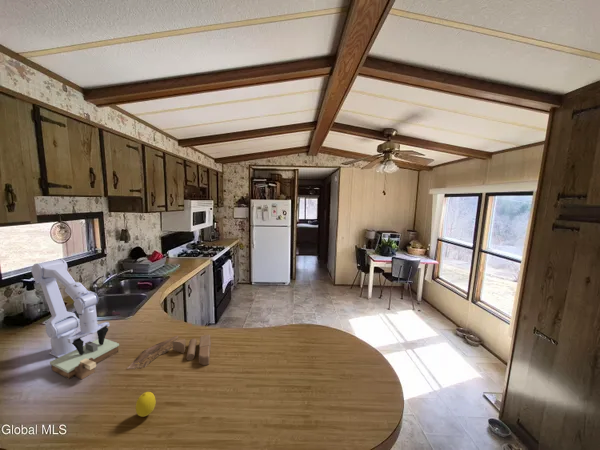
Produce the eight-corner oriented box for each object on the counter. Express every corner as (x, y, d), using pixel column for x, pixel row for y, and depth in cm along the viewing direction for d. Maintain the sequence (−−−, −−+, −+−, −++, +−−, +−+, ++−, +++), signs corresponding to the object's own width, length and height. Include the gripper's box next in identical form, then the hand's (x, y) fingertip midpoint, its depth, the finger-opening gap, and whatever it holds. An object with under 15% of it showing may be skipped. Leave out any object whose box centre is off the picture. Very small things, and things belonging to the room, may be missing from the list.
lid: (49, 364, 96) (48, 355, 96) (101, 339, 113) (100, 332, 113) (67, 373, 91) (66, 364, 91) (119, 345, 108) (118, 338, 108)
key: (80, 365, 94) (79, 361, 93) (86, 362, 95) (85, 358, 95) (90, 370, 91) (89, 365, 91) (96, 366, 93) (95, 362, 93)
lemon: (142, 408, 79) (141, 387, 78) (159, 407, 79) (158, 386, 79) (132, 423, 73) (130, 401, 73) (150, 422, 74) (148, 399, 73)
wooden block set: (210, 331, 116) (209, 353, 99) (210, 341, 117) (209, 365, 100) (172, 338, 110) (164, 363, 94) (173, 349, 111) (165, 375, 94)
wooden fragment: (136, 374, 95) (135, 371, 95) (119, 367, 99) (119, 364, 99) (187, 339, 119) (187, 337, 119) (172, 334, 123) (172, 332, 123)
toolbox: (52, 370, 97) (50, 357, 96) (101, 345, 113) (100, 333, 113) (76, 382, 90) (74, 368, 89) (125, 354, 107) (124, 342, 106)
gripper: (72, 331, 94) (76, 361, 96) (112, 314, 108) (115, 341, 109) (63, 327, 97) (67, 357, 98) (103, 312, 110) (105, 338, 112)
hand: (91, 348), depth 104 cm, fingers open, 7 cm apart
